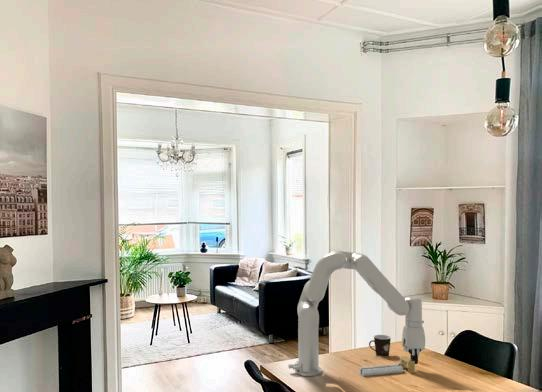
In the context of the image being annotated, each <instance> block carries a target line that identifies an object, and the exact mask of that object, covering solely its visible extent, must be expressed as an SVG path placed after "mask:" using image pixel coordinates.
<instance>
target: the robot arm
mask: <svg viewBox="0 0 542 392" xmlns="http://www.w3.org/2000/svg"><path fill="white" fill-rule="evenodd" d="M341 269H346V270H355V271H356V272H357V273H358V274H359V276H360V277H361V278H362V279H363V281H365V282H366V284H367V285H368V286H369V288H371V289H372V290H373V291H374V292H375V293H376V294H377V295H379V297H381V298H382V299H383V301H385V303H387V304H386V305H387V307H388V309H390V311H392V312H393V313H394V314H396V315H398V316H404V317H405V321H404V322H405V323H404V324H405V325H403V328H402V333H401V334H402V335H401V345H402V347H403V349H402V350H403V351H404V352H408V353H409V355H410V359H412V360H414V361H415V365H418V363H419V355H420V353H421V352H422V351H424V350H425V349H426V348H425V347H426V335H425V330H424V326H423V324H425V321H424V320H423V301H422V299H421V298H420V297H418V296H403V294H401V292H399V290H398V289H397V288H396V287H395V286H394V285H393V284H392V283H391V282H390V280H389V279H388V278H387V277H386V276H385V275H384V274H383V273H382V272H381V270H380V269H379V268H378V267H377V266H376V265H375V264H374V263H373V261H372V259H370V258H369V257H368V256H367V255H366V254H364V253H360V252H354V251H353V252H351V251H344V250H343V251H342V250H332V251H330V252H329V253H328V254H326V255H324V256H323V257H321V258H320V259H319V260H318V261H317V263H316V264H315V266H314V268H313V271H312V273H311V276H310V279H309V280H308V281H307V282H305V284H304V285H303V286H304V287H303V289H302V292H301V295H300V297H299V300H298V303H297V307H296V308H297V309H296V310H297V316H298V319H297V321H298V323H297V325H298V326H297V327H298V328H297V333H298V334H297V336H298V337H297V338H298V342H297V343H298V350H297V351H298V355H297V356H298V358H297V359H298V360H296V362H294V363H289V364H288V365H287V367H288V369H289V370H290V369H292V370H294V372H295V373H296V374H297V375H299V376H303V377H316V376H320V375H321V374H322V373H323V369H322V368H321V367H320V366H319V364H320V363H319V362H320V361H319V327H320V326H319V325H320V314H319V310H318V307H319V303H320V302H321V301H323V299H324V297H325V295H326V291H327V288H328V284H329V281H330V279H331V276H332V274H333V273H334V272H336V271H338V270H341Z"/></svg>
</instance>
